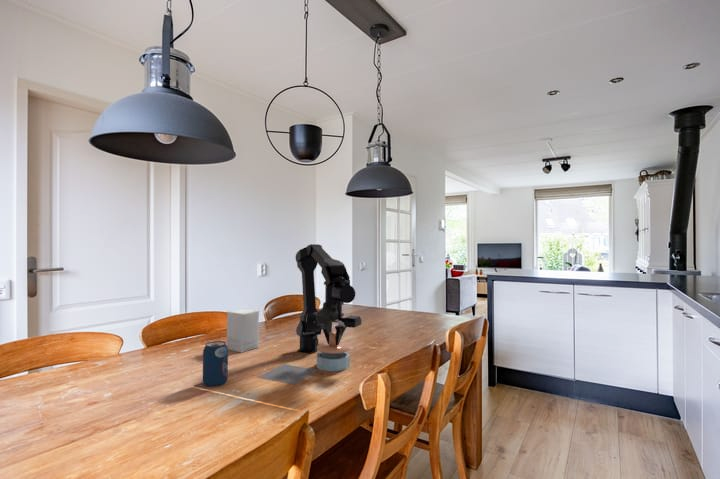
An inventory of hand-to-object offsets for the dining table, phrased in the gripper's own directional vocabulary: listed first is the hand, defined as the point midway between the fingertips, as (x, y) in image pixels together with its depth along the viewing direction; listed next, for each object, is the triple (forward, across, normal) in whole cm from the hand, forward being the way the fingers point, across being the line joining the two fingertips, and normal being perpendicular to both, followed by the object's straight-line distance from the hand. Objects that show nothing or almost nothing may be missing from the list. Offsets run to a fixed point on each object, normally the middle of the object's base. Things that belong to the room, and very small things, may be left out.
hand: (333, 344), depth 127 cm
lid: (+1, 0, 0) cm, 1 cm away
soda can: (+8, -24, -29) cm, 38 cm away
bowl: (+7, 0, 0) cm, 7 cm away
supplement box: (+8, -43, +4) cm, 44 cm away
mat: (+7, -9, -13) cm, 17 cm away
